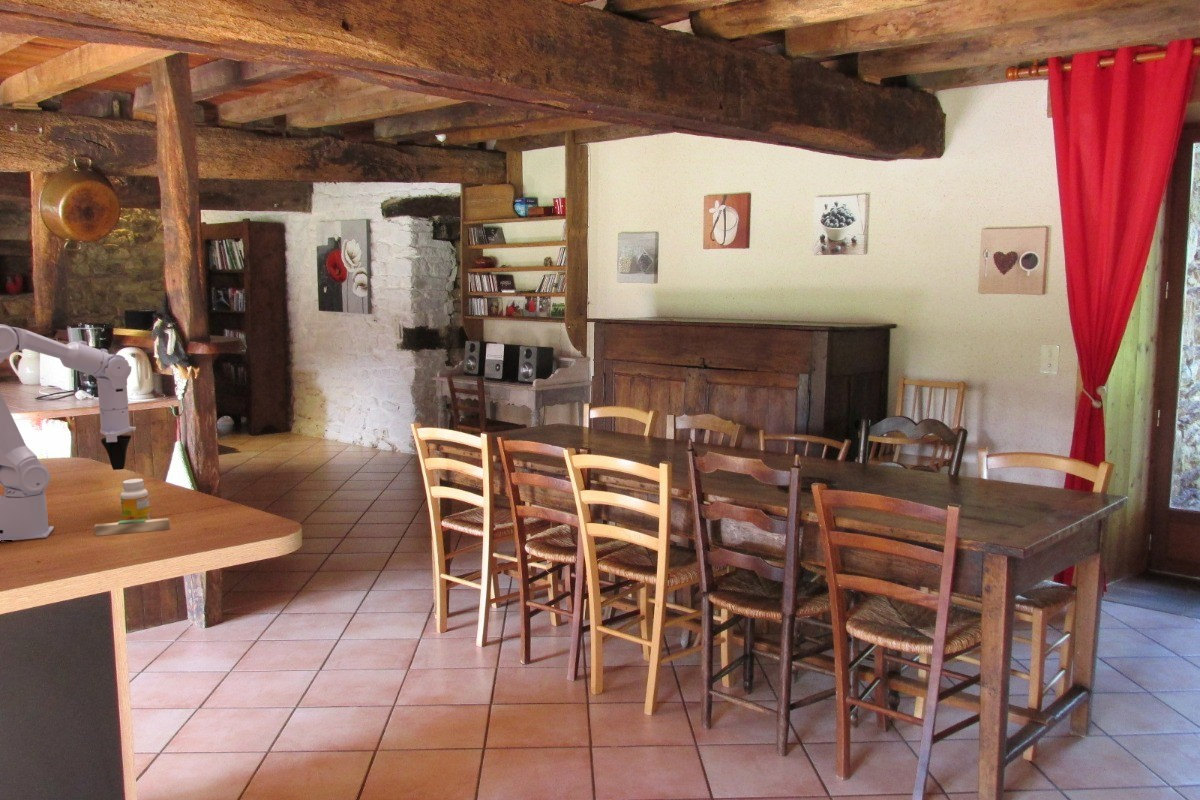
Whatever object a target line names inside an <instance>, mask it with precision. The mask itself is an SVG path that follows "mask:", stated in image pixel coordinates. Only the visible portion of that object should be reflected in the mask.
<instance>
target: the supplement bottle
mask: <svg viewBox="0 0 1200 800" xmlns="http://www.w3.org/2000/svg"><path fill="white" fill-rule="evenodd" d="M144 486H145V483H144V479H142V478H130V479H126V480H123V481H122V488H123V491H122V492H121V493H120V505H121V507H120V508H121V515H122V521H123V520H135V519H146V520H151V510H150V508H151V507H150V500H149V499H150V497H149V492H148V490H147V489H146V488H144Z"/></svg>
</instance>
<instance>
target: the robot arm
mask: <svg viewBox="0 0 1200 800" xmlns="http://www.w3.org/2000/svg"><path fill="white" fill-rule="evenodd" d="M23 350H28V351H31V352H35V353H38V354H42V355H46V356H49V357H53V358H56V359H59V360H60V362H61V364H62V366H64V367H65V368H68V369H71V370H74V371H78V372H81V373H84V374H86V375H90V376H93V378H95V379H97V393H98V394H97V395H98V404H99V405H98V407H99V420H100V429H99V433H100V434H102V435H104V436H105V437H104V438H102V439H100V442H101V445H102V446H103V447H104V449H105V451H106V453H107V455H108V459H109V461H110V465H111V468H112V470H113V471H117V470H119V471H120V470H124V469H125V467H126V457H127V451H128V447H129V443H130V441H131V439H132V435H131V434H128V433H130V432H135V431H136V429H137V427H136V426H131V423H130V410H129V398H128V378H129V376H130V375H131V373H132V366H131V365H130V364H129V362H128V360H127V359H126V358H125V357H124V356H123V355H120V354H112V353H111V354H110V353H109V352H108V349H106V348H100V349H99V348H95V347H93V346H89V345H88V342H87V341H84V340H78V341H71V342H69V343H66V344H65V343H63V342H60V341H57V340H54V339H52V338H50V337H46V336H43V335H41V334H38V333H35V332H32V331H30V330H27V329H24V328H20V327H14V326H9V325H7V324H1V323H0V364H2V363H3V362H4V361H5V360H7V358H8V357H10V355H11V354H13V352H14V351H23ZM126 433H127V434H126ZM124 434H125V435H124ZM23 438H24V437H23V436H22V435H21V432H20V430H19V428H18V426H17V423H16V421H15V419H14V418H13V415H12V413H11V411H10V409H9V406H8V405H7V403H6V400H5V399H4V396H3V394H2V392H1V391H0V485H1V486H2V487H4V494H0V541H1V540H12V541H21V540H31V539H32V540H33V539H34V540H35V539H44V538H48V536H49V535H50V534H51V533H52V532H53V530H54V529H55V526H54V525H52V526H51V525H50V526H49V519H48V517H49V516H48V508H47V507H48V505H47V493H46V488H47V487H48V486H49V484H50V481H51V473H50V470H49V469H48V467H47V466H46V465H45V464H43V463H41V461H39V458H38V456H37V455H36V454H35V453H34V452H33V451H32V450H31V449H30V448H29V447H28V446H27V445H26V443H25V440H24V439H23ZM1 542H2V541H1Z"/></svg>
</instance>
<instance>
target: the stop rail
mask: <svg viewBox="0 0 1200 800" xmlns="http://www.w3.org/2000/svg"><path fill="white" fill-rule="evenodd" d="M170 526H171V525H170V517H164V518H155V519H153V518H152V519H151V520H146V519H135V520H123V519H122V520H119V521H117V522H105V523H95V524H94V526H93V528H94V529H93V530H94V537H98V536H99V537H100V536H110V535H111V536H113V535H121V534H122V535H123V534H132V533H133V534H134V533H142V532H143V533H144V532H157V531H167V530H170V528H171V527H170Z"/></svg>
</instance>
